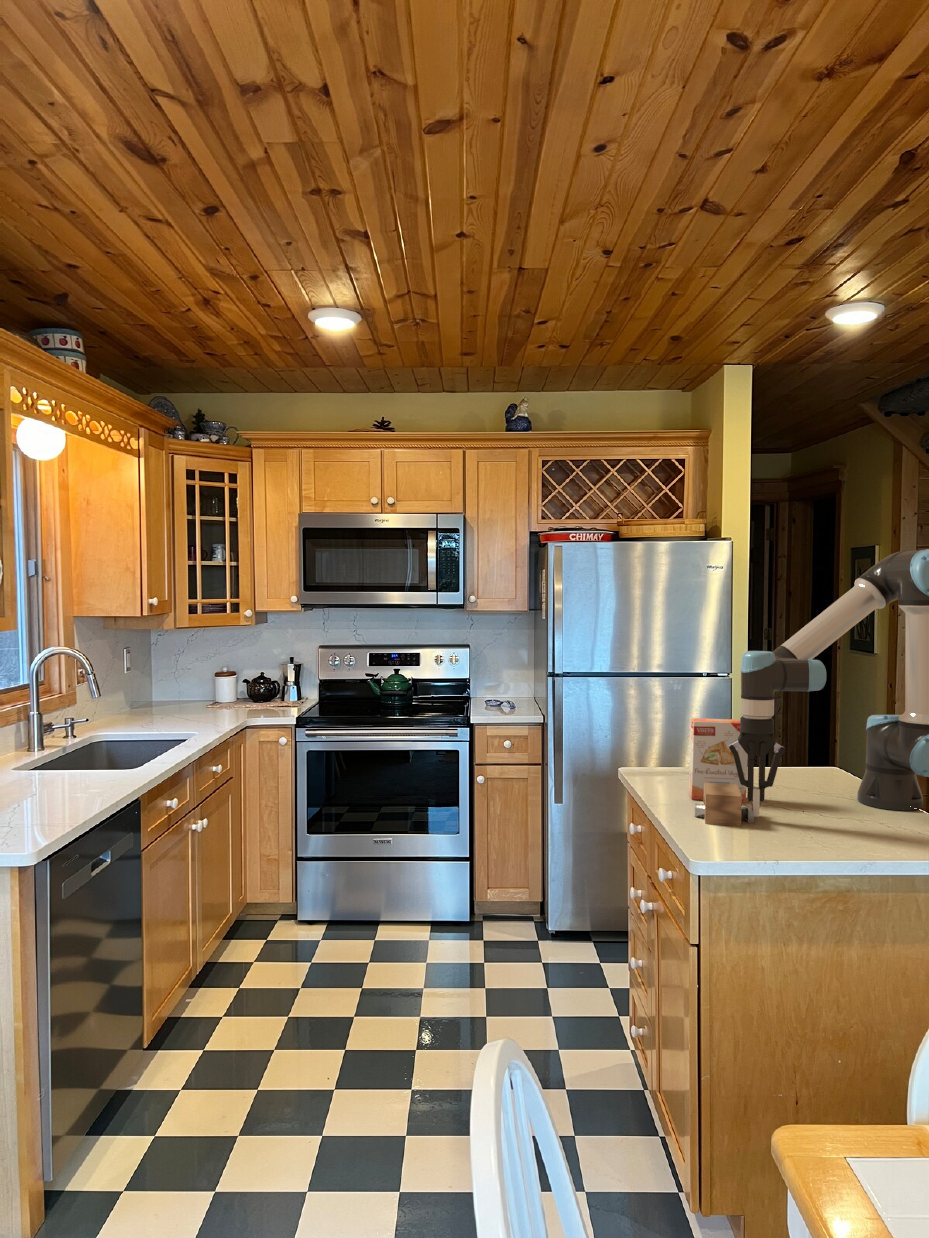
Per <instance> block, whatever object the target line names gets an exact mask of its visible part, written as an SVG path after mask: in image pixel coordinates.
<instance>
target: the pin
mask: <svg viewBox="0 0 929 1238" xmlns="http://www.w3.org/2000/svg"><path fill="white" fill-rule="evenodd" d="M694 817H695V818H696V817H697V818H698V817H699V818H705V804H704V803H703V804H701V803H694ZM754 818H755V816H754V810H753V808H752V803H751V804H750V803H746V804H745V806H741V821H744V820H745V821H747V823H748V824H754V821H755V819H754Z"/></svg>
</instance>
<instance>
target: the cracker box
mask: <svg viewBox="0 0 929 1238" xmlns="http://www.w3.org/2000/svg"><path fill="white" fill-rule="evenodd" d="M689 734H690V735H689V737H690V739H689V742H690V743H689V771H688V772H689V774H688V795H689V798H690V799H691V800H692V801H697V800H698V801H704V783H719V784H735V785H738V787H739V790H740V793H741V796H742V803H746V802H747V787H746V786H744V785H741V784H740V781H739V777H738V772H737V768H736V764H735V760H734V756H733V753H732V752H731V750H730V749H729V744H733V743H734V742H736V741H738V737H739V735H740V719H731V718H728V719H727V718H707V717H706V718H703V717H702V718H699V717H690V733H689ZM739 749H740V750H739V751H738V754H739V757H740V761H741V766H742V770H743V774H744V778H745V780H747V769H748V754H747V753H746V752H745V751H744V749H743V748H742V747H741V745H740V746H739Z"/></svg>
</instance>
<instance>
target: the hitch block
mask: <svg viewBox="0 0 929 1238" xmlns="http://www.w3.org/2000/svg"><path fill="white" fill-rule="evenodd" d="M742 803H743V802H742V796H741V793H740V790H739V787H738V785H735V784H719V783H704V800H703V804H705V817H704V824H706V825H716V826H717V825H718V826H733V827H742V820H741V807H742Z"/></svg>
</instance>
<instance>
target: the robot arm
mask: <svg viewBox="0 0 929 1238" xmlns="http://www.w3.org/2000/svg"><path fill="white" fill-rule="evenodd" d="M897 600H898V601H897ZM894 601H897V602H898V605H897V606H898V607H899V609H901V610H902V611H903V612H904V615H905V648H904V649H905V652H904V653H905V661H904V663H905V672H904V673H905V677H904V678H905V679H904V680H905V683H904V685H905V686H904V690H905V691H904V692H905V693H904V699H905V701H904V703H905V707H904V709H905V710H904V712H903V713H902V714H871V715H870V716H868V717H867V720H866V728H865V731H866V733H865V734H866V739H865V740H866V741H865V742H866V743H865V744H866V745H865V772H864V775H863V777H862V779H861V782H860V784H859V787H858V790H857V801H858V802H860V803H861V804H862V805H866V806H868V807H873V808H879V809H883V810H890V811H891V810H893V811H917V810H916V809H914V808H917V809H918V810H921V809H923V808H924V796H923V794H922V793H923V792H922V790H921V788H920V785H919V784H920V783H919V781H918V778H917V777H918V776H921V777H926V778H927V777H928V778H929V548H927V549H917V550H903V551H897V552H894V553H892V554H889V555H887V556H886V557H884V558H882V559H881V560H879V561H878V562H876V563H875V564H874V565H872V566H871V567H870V568H869V569H868V570H866V571H865V572H863V574H861V575H860V576H858V578H856V579H855V581H854V586H853V587H852V588H850V589H849V590H848V591H847V592H846V593H844V594H843V595H841V596H840V597H839V598H838V599H836V600H835V601H834V602H832V603H831V604H830V605H829V606H828V607H827V608H826V609H824V610H823V611H822V612H820V614H818V615H817V616H816V617H814V618H813V619H812V620H811V621H809V622H808V623H807V624H805V625H804V627H802V628H800V629H799V630H798V631H797V632H796V633H794V634H793V635H791V637H790V638H789V639H787V640H786V641H784V643H782V644H781V645H779V646H778V647H777V648H775V649H774V650H773V651H769V650H767V651H766V650H748V651H745V652H743V653H742V655H741V665H740V715H741V717H740V719H739V720H740V735H739V737H738V741H736V742H734V743H733V744H729V749H730V750H731V752H732V753H733V756H734V760H735V764H736V768H737V772H738V777H739V781H740V784H741V785H744V786H746V787H747V792H746V799H747V802H751V805H752V808H753V810H754V817H758V818H759V817H760V803H764V802H765V790H766V788H771V787H773V786H774V783H775V778H776V776H777V772H778V767H779V765H780V761H781V758H782V756H783V755H784V753H785V752H786V748H785V747H784V745H780V744H779V743H778V742H777V740H776V738H775V735H774V734H775V732H774V731H775V730H774V729H775V726H774V725H775V719H774V718H773V717H774V715H775V692H807V693H809V692H815V691H821V690H822V689H824V687H825V685H826V682H827V670H826V666H825V665H824V663H823V662H822V661H821V660H819V659H815V657H817V656H819V654H821V653H822V652H824V650H826V649H827V648H829V646H831V645H832V644H833V643H834V642H836V641H837V640H838V639H840V638H841V637H842V636H843V635H844V634H846V633H847V632H849V630H851V629H853V627H854V626H857V624H858V623H859V622H861V621H863V620H864V619H865V618H866V617H867V616H869V614H871V613H872V612H873V611H875V610H876V609H877V610H879V609H880V610H881V609H884V608H885V607H887V605H889V604H891V603H892V602H894ZM740 745H741V747H742V748H743V749H744V751H745V752H746V753H747V754H748V760H747V780H745V778H744V774H743V770H742V766H741V761H740V757H739V754H738V751H739V750H740V749H739V746H740ZM772 749H773V752H774V754H773V756H772V761H771V764H770V768H769V771H768V775H767V779H766V755H768V754H769V753H770V752H771V750H772ZM755 756H756V757H757V756H758V786H754V783H755V782H754V781H755V780H754V778H755V774H754V773H755V772H754V771H755V768H754V767H755ZM910 806H911V807H910Z"/></svg>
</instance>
